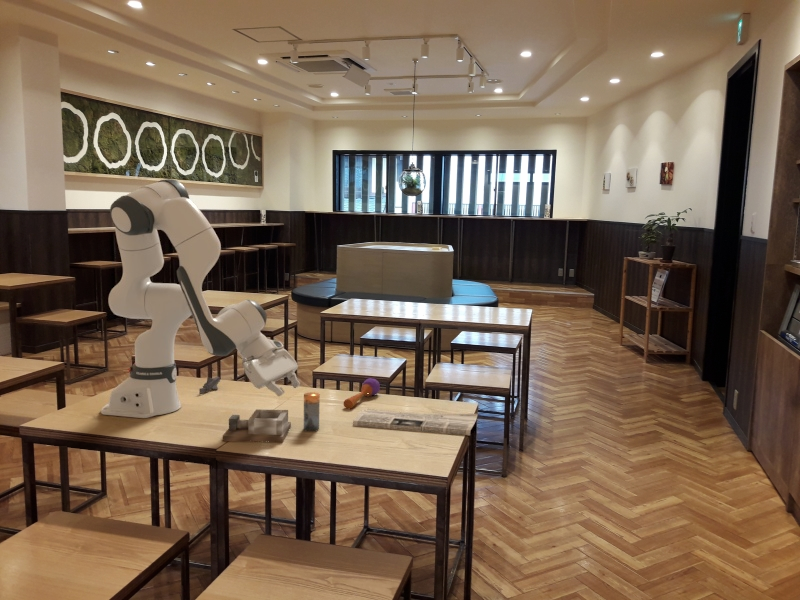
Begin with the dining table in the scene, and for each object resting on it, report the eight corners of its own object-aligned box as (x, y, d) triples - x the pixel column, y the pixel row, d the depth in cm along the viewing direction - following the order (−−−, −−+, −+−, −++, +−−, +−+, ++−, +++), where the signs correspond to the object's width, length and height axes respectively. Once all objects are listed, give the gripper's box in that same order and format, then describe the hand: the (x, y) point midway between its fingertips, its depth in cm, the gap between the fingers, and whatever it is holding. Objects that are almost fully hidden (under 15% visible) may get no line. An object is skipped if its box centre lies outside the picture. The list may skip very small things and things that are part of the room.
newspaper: (352, 427, 174) (352, 415, 174) (363, 414, 186) (363, 403, 186) (475, 437, 168) (475, 425, 168) (477, 423, 180) (477, 412, 180)
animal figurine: (206, 399, 201) (204, 385, 200) (194, 397, 202) (193, 384, 201) (225, 384, 212) (224, 370, 211) (214, 382, 213) (212, 369, 212)
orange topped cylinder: (302, 431, 169) (302, 396, 167) (304, 425, 173) (305, 392, 172) (318, 431, 169) (318, 396, 168) (320, 426, 173) (320, 392, 172)
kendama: (338, 395, 191) (365, 376, 209) (341, 413, 191) (368, 393, 210) (354, 394, 188) (380, 375, 206) (358, 412, 189) (384, 392, 207)
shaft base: (222, 441, 160) (222, 421, 159) (234, 425, 172) (234, 407, 171) (282, 442, 160) (282, 422, 159) (290, 427, 172) (290, 408, 171)
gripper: (246, 353, 161) (278, 392, 159) (283, 340, 181) (313, 375, 179) (232, 368, 163) (264, 407, 161) (270, 354, 182) (299, 388, 181)
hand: (290, 390), depth 170 cm, fingers open, 8 cm apart
